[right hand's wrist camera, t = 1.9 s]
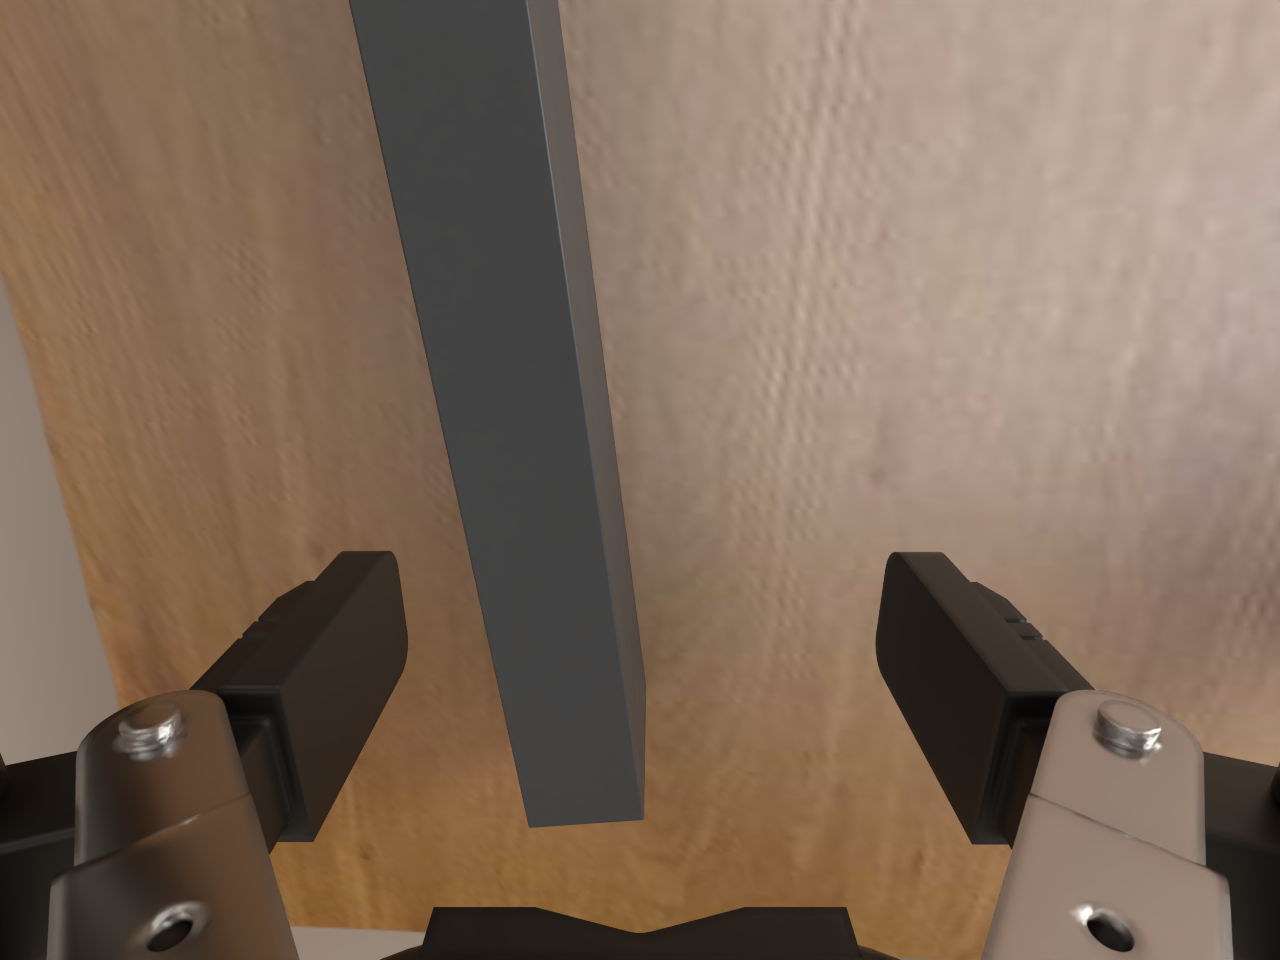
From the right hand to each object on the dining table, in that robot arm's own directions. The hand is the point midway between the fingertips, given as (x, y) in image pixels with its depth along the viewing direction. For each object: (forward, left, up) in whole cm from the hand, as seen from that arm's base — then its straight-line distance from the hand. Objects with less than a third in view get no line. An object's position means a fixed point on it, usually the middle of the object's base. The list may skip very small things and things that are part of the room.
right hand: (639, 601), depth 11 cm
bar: (+19, -4, -18) cm, 26 cm away
